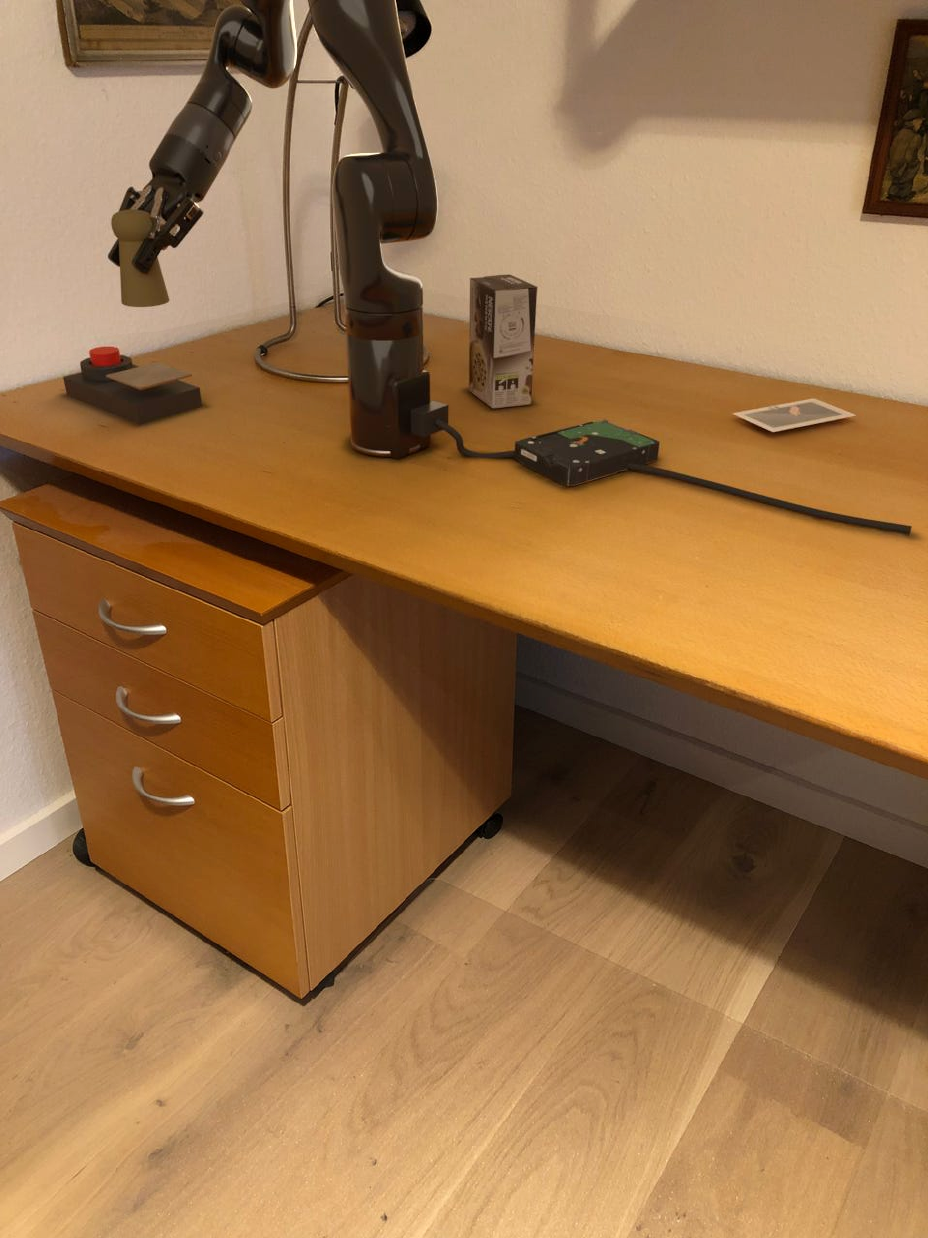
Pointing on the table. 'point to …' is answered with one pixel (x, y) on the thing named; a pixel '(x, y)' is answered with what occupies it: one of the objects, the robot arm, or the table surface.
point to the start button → (104, 356)
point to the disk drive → (585, 452)
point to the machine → (130, 393)
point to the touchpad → (793, 414)
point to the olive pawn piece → (131, 235)
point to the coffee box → (501, 340)
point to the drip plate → (148, 376)
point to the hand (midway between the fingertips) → (126, 265)
